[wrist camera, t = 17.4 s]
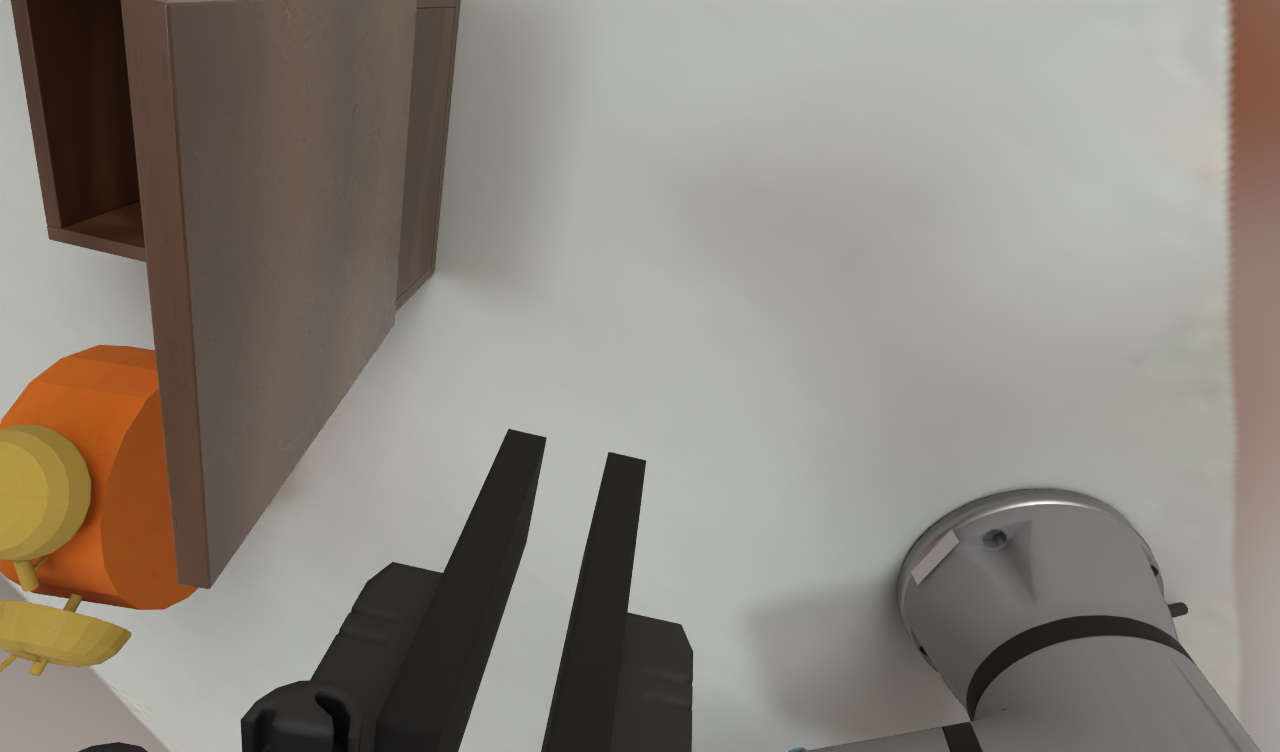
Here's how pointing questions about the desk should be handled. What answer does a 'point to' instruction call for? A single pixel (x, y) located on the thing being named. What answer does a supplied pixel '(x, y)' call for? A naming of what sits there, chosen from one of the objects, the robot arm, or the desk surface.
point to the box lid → (263, 234)
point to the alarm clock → (85, 505)
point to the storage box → (104, 137)
